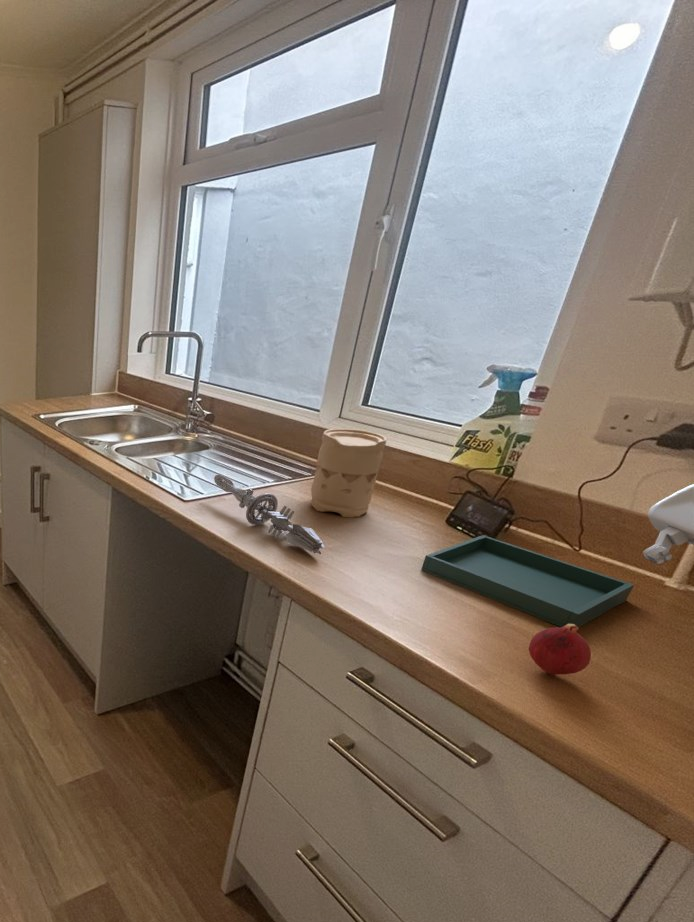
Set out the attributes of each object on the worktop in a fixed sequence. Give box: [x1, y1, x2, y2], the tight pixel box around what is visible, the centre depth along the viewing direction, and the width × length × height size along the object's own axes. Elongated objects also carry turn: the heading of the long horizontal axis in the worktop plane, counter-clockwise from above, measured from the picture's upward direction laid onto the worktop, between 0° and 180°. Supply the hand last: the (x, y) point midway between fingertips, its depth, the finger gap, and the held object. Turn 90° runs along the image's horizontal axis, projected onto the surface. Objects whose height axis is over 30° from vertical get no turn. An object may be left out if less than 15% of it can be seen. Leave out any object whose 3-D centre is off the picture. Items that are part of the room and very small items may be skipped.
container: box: [310, 428, 388, 518], centre depth 124 cm, size 13×13×18 cm
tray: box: [421, 534, 635, 628], centre depth 93 cm, size 22×20×3 cm
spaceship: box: [213, 474, 326, 555], centre depth 117 cm, size 8×35×8 cm
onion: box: [528, 624, 592, 676], centre depth 71 cm, size 6×6×8 cm
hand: (689, 576), depth 66 cm, fingers open, 8 cm apart
